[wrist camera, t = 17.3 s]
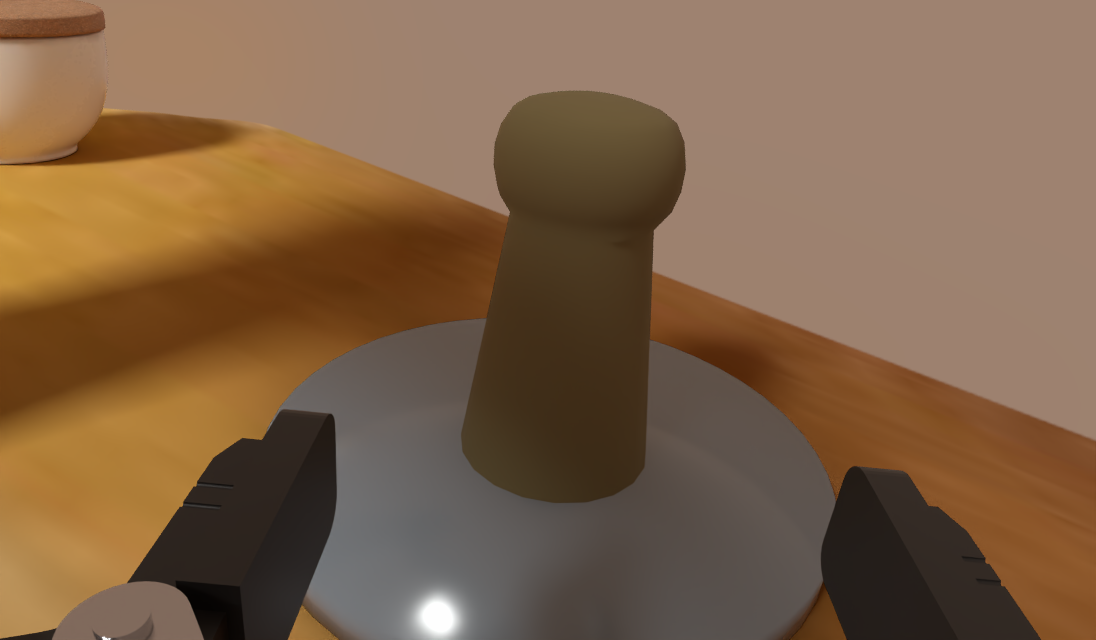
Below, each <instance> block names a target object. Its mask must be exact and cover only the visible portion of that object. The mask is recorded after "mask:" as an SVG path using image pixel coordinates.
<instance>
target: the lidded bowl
mask: <svg viewBox="0 0 1096 640" xmlns="http://www.w3.org/2000/svg"><path fill="white" fill-rule="evenodd" d="M104 28H105V19H104V13H103V11H102V10H101V9H100V8H99V7H98V6H96V5H93V4H90V3H85V2H81V1H76V0H0V164H25V163H35V162H43V161H50V160H55V159H59V158H63V157H66V156H69V155H71V154H73V153H75V152H76V151H77V149H78V147H77V143H78V142H79V141H80V140H81V139H83V138H84V137H85V136H86V135H87V134H88V133H89V132H90V130H91V129H92V128H93V126H94V125H95V124H96V122H97V120H98V118H99V116H100V114H101V112H102V110H103V106H104V103H105V99H106V93H107V84H108V62H107V52H106V44H105V37H104V31H103V30H104Z"/></svg>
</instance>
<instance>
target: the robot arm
mask: <svg viewBox="0 0 1096 640" xmlns="http://www.w3.org/2000/svg"><path fill="white" fill-rule="evenodd" d="M336 502H337V474H336V431H335V419H334V416H333V415H332V414H330V413H320V412H310V411H300V410H289V409H283V410H281V411H280V412H279V413H278V415H277V417H276V418H275V420H274V421H273V423H272V425H271V426H270V428H269V430H268V431H267V433H266V434H265V436H264V438H263V439H262V440H256V439H246V438H242V439H240V440H239V441H237V442H236V443H234V444H233V445H231V446H230V447H229V448H227V449H226V450H224V451H223V452H221V453H220V454H218V455H217V456H215V457H214V458H213V460H212V461H211V462H210V464H209V465H208V467H207V468H206V470H205V471H204V473H203V474H202V475H201V477H200V478H199V480H198V481H197V486H196V487H193V488H192V490H191V491H190V493H189V494H188V496H187V497H186V499H185V500H184V502H183V506H182V507H179V509H178V510H177V512H176V513H175V515H174V516H173V517H172V519H171V520H170V522H169V523H168V525H167V526H166V528H165V529H164V530H163V532H162V533H161V535H160V536H159V538H158V539H157V541H156V542H155V543H154V545H153V546H152V548H151V549H150V551H149V552H148V554H147V555H146V557H145V558H144V559H143V561H142V562H141V564H140V565H139V567H138V568H137V570H136V571H135V572H134V574H133V575H132V577H131V578H130V580H129V581H128V583H126V584H122V585H118V586H115V587H112V588H109V589H106V590H104V591H101V592H99V593H97V594H95V595H93V596H92V597H90V598H88V599H87V600H85V601H84V602H82V603H80V604H79V605H78V606H77V607H75V608H74V609H73V610H72V611H71V612H70V613H69V614H68V615H67V616H66V617H65V618H64V619H63V620H62V622H61V623H60V625H59V626H58V627H57V628H56V629H52V630H48V631H43V632H39V633H33V634H27V635H20V636H14V637H8V638H2V639H0V640H288V637H289V635H290V632H291V630H292V627H293V625H294V622H295V620H296V617H297V615H298V612H299V610H300V607H301V605H302V603H303V600H304V598H305V595H306V593H307V590H308V588H309V585H310V583H311V580H312V578H313V575H314V573H315V570H316V568H317V565H318V563H319V560H320V558H321V555H322V553H323V550H324V548H325V545H326V543H327V540H328V538H329V535H330V533H331V529H332V526H333V521H334V516H335V510H336ZM985 559H986V558H985V557H984V555H983V554H982V553H981V551H980V550H979V548H978V547H977V545H976V544H975V542H974V541H973V539H972V538H971V536H970V535H969V534H968V532H967V531H966V530H965V529H964V528H962V527H961V526H960V525H959V524H958V523H956V522H955V521H954V520H953V519H952V518H950V517H949V516H948V515H947V514H946V513H944V512H943V511H942V510H941V509H940V508H938V507H933V506H928V505H927V503H926V501H925V500H924V498H923V497H922V495H921V494H920V492H919V491H918V489H917V488H916V486H915V484H914V483H913V481H912V480H911V478H910V477H909V476H908V474H907V473H905V472H903V471H899V470H888V469H878V468H868V467H858V466H854V467H851V468H850V469H849V470H848V472H847V473H846V475H845V478H844V480H843V483H842V486H841V489H840V492H839V495H838V498H837V501H836V504H835V507H834V510H833V513H832V516H831V519H830V522H829V525H828V528H827V531H826V534H825V537H824V540H823V543H822V548H821V571H822V577H823V581H824V584H825V586H826V589H827V591H828V594H829V596H830V599H831V601H832V604H833V606H834V609H835V611H836V614H837V616H838V619H839V621H840V623H841V626H842V628H843V631H844V633H845V636H846V638H847V640H1041V639H1040V637H1039V636H1038V634H1037V633H1036V631H1035V630H1034V628H1033V627H1032V625H1031V624H1030V623H1029V621H1028V620H1027V618H1026V617H1025V615H1024V614H1023V612H1022V611H1021V609H1020V608H1019V607H1018V605H1017V604H1016V602H1015V601H1014V599H1013V598H1012V596H1011V595H1010V593H1009V592H1008V590H1007V589H1006V588H1005V587H1003V586H1001V580H1000V579H999V577H998V576H997V574H996V573H995V571H994V570H993V569H992V567H991V566H990V564H986V563H985Z"/></svg>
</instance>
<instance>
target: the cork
mask: <svg viewBox="0 0 1096 640" xmlns="http://www.w3.org/2000/svg"><path fill="white" fill-rule="evenodd" d="M685 165H686V164H685V147H684V140H683V138H682V135H681V132H680V130H679V127H678V125H677V123H676V122H675V121H674V120H672V119H671V118H670V117H669V116H667V114H665V113H664V112H663V111H661V110H659V109H657V108H654V107H652V106H649V105H646V104H644V103H641V102H639V101H636V100H633V99H630V98H626V97H622V96H618V95H614V94H608V93H602V92H592V91H560V92H559V91H558V92H551V93H543V94H537V95H533V96H529V97H527V98H525V99H523V100H522V101H520V102H518V103H517V104H516V105H514V106H513V107H512V109H511V110H510V112H509V113H508V114H507V116H506V117H505V119H504V120H503V122H502V123H501V126H500V129H499V132H498V135H497V138H496V141H495V149H494V169H495V175H496V181H497V186H498V190H499V193H500V196H501V197H502V199H503V201H504V202H505V204H506V206H507V207H508V209H509V211H510V215H509V219H508V224H507V228H506V233H505V237H504V242H503V247H502V251H501V256H500V260H499V265H498V269H497V274H496V278H495V283H494V287H493V292H492V296H491V301H490V305H489V310H488V314H487V319H486V323H485V328H484V332H483V337H482V341H481V346H480V350H479V355H478V360H477V364H476V369H475V373H474V378H473V382H472V387H471V391H470V396H469V400H468V405H467V409H466V414H465V418H464V423H463V427H462V432H461V440H462V452H463V453H464V455H465V457H466V458H467V460H468V461H469V463H470V464H471V466H472V468H473V469H474V470H475V471H476V472H478V473H479V474H480V475H482V476H483V477H484V478H485V479H487V480H488V481H489V482H491V483H492V484H493V485H495V486H497V487H499V488H502V489H504V490H507V491H509V492H511V493H514V494H516V495H518V496H521V497H524V498H530V499H535V500H540V501H546V502H551V503H584V502H590V501H594V500H598V499H601V498H605V497H609V496H613V495H615V494H617V493H618V492H620V491H622V490H623V489H625V488H626V487H628V486H630V485H631V484H633V483H634V482H635V480H636V479H637V478H638V476H639V475H640V473H641V472H642V470H643V469H644V467H645V455H646V432H647V404H648V376H649V348H650V320H651V292H652V264H653V235H654V229H655V228H656V227H657V226H658V225H659V224H660V223H661V222H662V221H663V220H664V219H665V218H666V217H667V216H668V215H669V214H670V213H671V212H672V210H673V208H674V206H675V204H676V202H677V200H678V197H679V195H680V193H681V190H682V185H683V180H684V175H685V170H686V166H685Z"/></svg>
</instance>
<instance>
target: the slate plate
mask: <svg viewBox="0 0 1096 640" xmlns="http://www.w3.org/2000/svg"><path fill="white" fill-rule="evenodd" d="M486 319H487V318H483V319H471V320H460V321H452V322H445V323H439V324H432V325H427V326H423V327H418V328H414V329H410V330H405V331H402V332H399V333H395V334H392V335H389V336H386V337H382V338H379V339H377V340H374V341H372V342H369V343H367V344H364V345H362V346H359V347H357V348H355V349H353V350H351V351H349V352H347V353H345V354H343V355H341V356H340V357H338V358H336V359H334V360H332V361H331V362H329V363H328V364H326V365H325V366H323V367H322V368H320V369H319V370H317V371H316V372H314V373H313V374H312V375H311V376H310V377H308V378H307V379H306V380H305V381H304V382H303V383H302V384H300V385H299V386H298V387H297V388H296V389H295V390H294V391H293V392H292V393H291V395H290V396H289V397H288V398H287V399H286V401H285V402H284V403H283V404H282V405H281V406H280V408H279V410H278V411H277V413H276V415H275V416H274V418H273V420H272V422H271V423H270V425H269V427H268V429H267V431H268V430H269V428H270V426H271V425H272V423H273V421H274V420H275V418H276V417H277V415H278V413H279V412H280V411H281V410H283V409H289V410H300V411H310V412H320V413H330V414H332V415H333V416H334V419H335V431H336V474H337V502H336V510H335V516H334V521H333V526H332V529H331V533H330V535H329V538H328V540H327V543H326V545H325V548H324V550H323V553H322V555H321V558H320V560H319V563H318V565H317V568H316V570H315V573H314V575H313V578H312V580H311V583H310V585H309V588H308V590H307V593H306V595H305V598H304V600H303V603H302V605H303V606H304V607H305V608H306V610H307V611H308V612H309V613H310V614H311V615H312V617H313V618H315V619H316V620H317V621H318V622H319V623H320V624H322V625H323V626H324V627H325V628H326V629H328V630H329V631H330V632H331V633H332V634H333V635H335V636H336V637H337V638H338V639H339V640H789V639H790V638H791V637H792V636H793V635H794V634H795V633H796V632H797V631H798V630H799V629H800V627H801V626H802V624H803V623H804V621H805V619H806V618H807V616H808V614H809V613H810V611H811V610H812V608H813V606H814V605H815V603H816V600H817V598H818V595H819V592H820V589H821V586H822V583H823V577H822V571H821V548H822V543H823V540H824V537H825V534H826V531H827V528H828V525H829V522H830V519H831V516H832V513H833V510H834V507H835V504H836V501H835V495H834V492H833V489H832V486H831V483H830V480H829V477H828V474H827V472H826V470H825V469H824V467H823V465H822V463H821V461H820V459H819V457H818V455H817V453H816V452H815V450H814V449H813V448H812V446H811V445H810V444H809V442H808V441H807V440H806V438H805V437H804V435H803V434H802V433H801V432H800V431H799V430H798V428H797V427H796V426H795V425H794V424H793V423H792V422H791V421H790V420H789V419H788V418H787V417H786V416H785V415H784V414H783V413H782V412H781V411H780V410H779V409H777V408H776V407H775V406H774V405H773V404H772V403H770V402H769V401H768V400H767V399H766V398H765V397H763V396H762V395H760V394H759V393H757V392H756V391H755V390H753V389H752V388H750V387H749V386H748V385H746V384H745V383H743V382H742V381H740V380H738V379H737V378H735V377H733V376H731V375H730V374H728V373H726V372H725V371H723V370H721V369H720V368H717V367H715V366H713V365H711V364H709V363H707V362H705V361H703V360H701V359H699V358H697V357H695V356H693V355H690V354H688V353H685V352H683V351H680V350H678V349H675V348H673V347H671V346H668V345H665V344H662V343H659V342H656V341H653V340H650V348H649V376H648V404H647V432H646V455H645V467H644V469H643V470H642V472H641V473H640V475H639V476H638V478H637V479H636V480H635V482H634V483H633V484H631V485H630V486H628V487H626V488H625V489H623V490H622V491H620V492H618V493H617V494H615V495H613V496H609V497H605V498H601V499H598V500H594V501H590V502H584V503H551V502H546V501H540V500H535V499H530V498H524V497H521V496H518V495H516V494H514V493H511V492H509V491H507V490H504V489H502V488H499V487H497V486H495V485H493V484H492V483H491V482H489V481H488V480H487V479H485V478H484V477H483V476H482V475H480V474H479V473H478V472H476V471H475V470H474V469H473V468H472V466H471V464H470V463H469V461H468V460H467V458H466V457H465V455H464V453H463V452H462V440H461V432H462V427H463V423H464V418H465V414H466V409H467V405H468V400H469V396H470V391H471V387H472V382H473V378H474V373H475V369H476V364H477V360H478V355H479V350H480V346H481V341H482V337H483V332H484V328H485V323H486ZM266 433H267V432H266Z"/></svg>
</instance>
